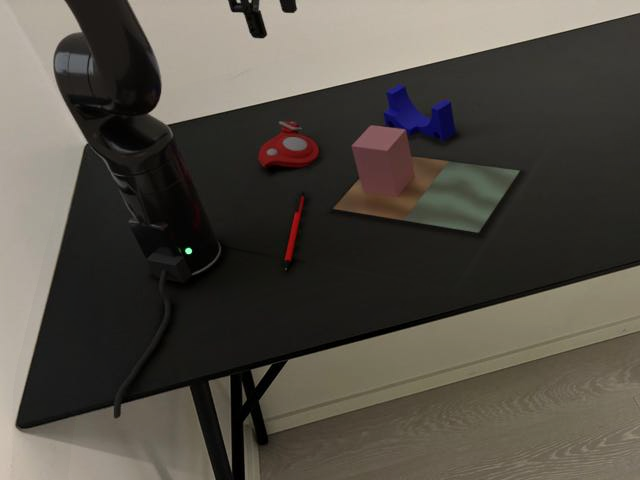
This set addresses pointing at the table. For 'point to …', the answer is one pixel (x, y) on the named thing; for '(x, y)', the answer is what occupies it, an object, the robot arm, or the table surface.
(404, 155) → the pink block
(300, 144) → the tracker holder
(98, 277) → the table surface
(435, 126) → the blue curved block
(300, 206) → the pen
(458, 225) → the multicoloured piece
